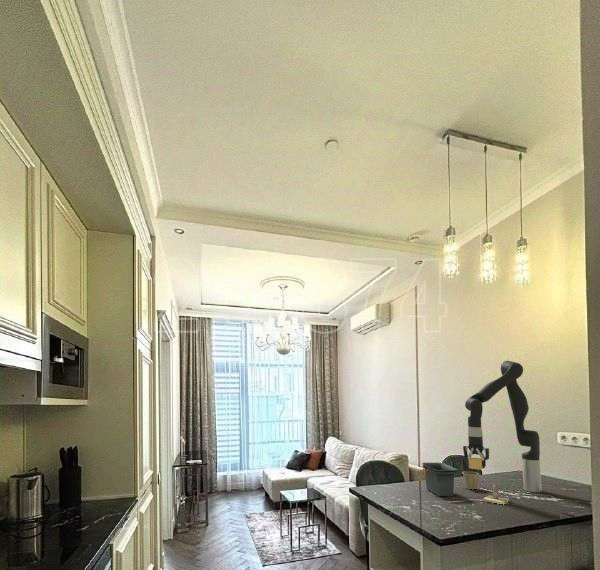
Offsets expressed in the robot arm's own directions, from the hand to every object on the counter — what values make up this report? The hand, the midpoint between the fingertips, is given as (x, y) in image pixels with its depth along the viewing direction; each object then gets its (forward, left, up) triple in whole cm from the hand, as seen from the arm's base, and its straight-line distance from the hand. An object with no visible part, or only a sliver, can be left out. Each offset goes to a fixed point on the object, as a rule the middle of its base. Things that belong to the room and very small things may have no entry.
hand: (476, 466), depth 266 cm
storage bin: (+12, -18, -15) cm, 26 cm away
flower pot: (-12, -8, -15) cm, 20 cm away
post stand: (+9, +12, -15) cm, 21 cm away
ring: (0, 0, -1) cm, 1 cm away
